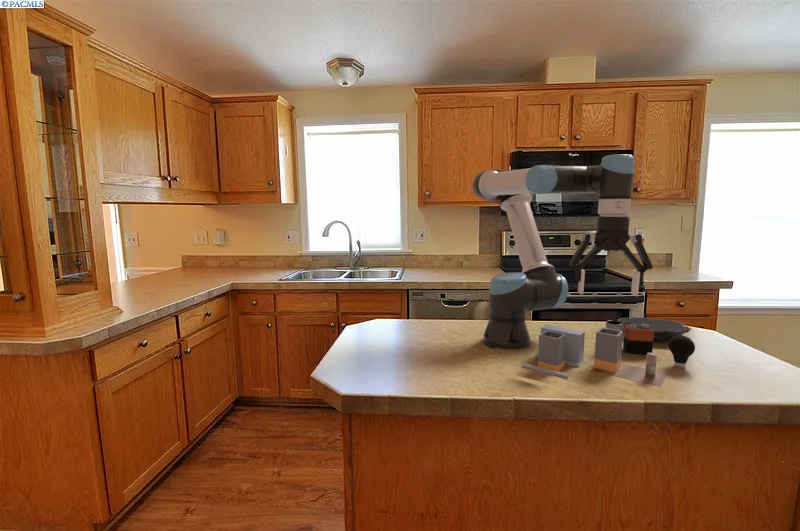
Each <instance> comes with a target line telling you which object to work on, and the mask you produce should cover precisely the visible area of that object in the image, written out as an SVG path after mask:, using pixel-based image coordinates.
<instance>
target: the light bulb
mask: <svg viewBox="0 0 800 531" xmlns="http://www.w3.org/2000/svg"><path fill="white" fill-rule="evenodd" d="M694 342H695V341H693V340H692V339H691V338H690V337H688V336H687V335H679V336H675V337H673V338H672V339H671V340H670V341H668V350H669V351H670V353H671V354H672V356H673V362H674V363H673V364H674V366H675V367H677V368H682V369H683V368H685V367H686V365H687V362H688V360H689V357H691V356H692V355H693V354H694V352H695V350H696V346H695V343H694Z"/></svg>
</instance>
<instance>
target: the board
mask: <svg viewBox="0 0 800 531" xmlns="http://www.w3.org/2000/svg"><path fill="white" fill-rule="evenodd" d="M616 321H620V322H622V323H623V329H624V327H625V325H630V324H635V325H636V326H641V324H648V325H650V326H649V327H650V328H651V329H653V330H654V338H653V342H658V343H659V342H661V343H663V342H669V341H670V340H671V339H672V338H673V337H675V336H679V335H682V336H684V335H685V334H687V333H689V332H690V331H691V330H692V327H689V326H685V323H682V322H679V321H673V320H672V321H671V320H666V319H661V318H660V319H659V318H652V317H637V316H632V317H621V318H618V319H617V320H616Z"/></svg>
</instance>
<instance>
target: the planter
mask: <svg viewBox="0 0 800 531" xmlns="http://www.w3.org/2000/svg"><path fill="white" fill-rule="evenodd" d="M605 328H607V329H613V330H619V331H623V332H624V328H623V323H622V322H620V321H617V320H612V319H611V320H606V322H605Z"/></svg>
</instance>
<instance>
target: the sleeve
mask: <svg viewBox="0 0 800 531" xmlns="http://www.w3.org/2000/svg"><path fill="white" fill-rule="evenodd" d="M565 348H566V334H563V333H558V332H553V331H547V330H546V331H545V332H543V333H542V334H541V333H539V335H538V353H537V354H538V357H537V367H541V368H545V369H549V370H553V371H557V372H560V371H561V370H562V369H563V368H564V367H565V365H566V364H565Z"/></svg>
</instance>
